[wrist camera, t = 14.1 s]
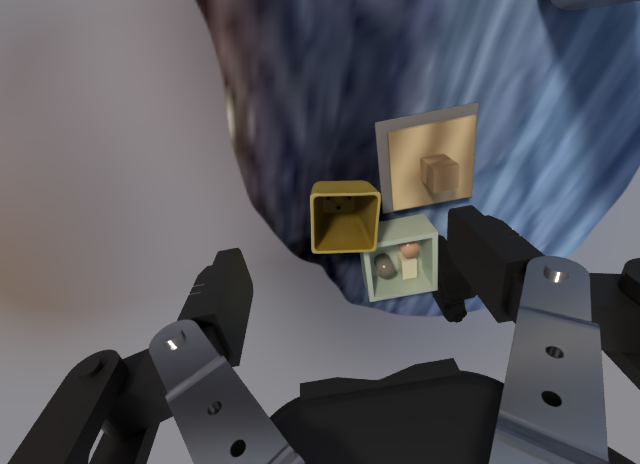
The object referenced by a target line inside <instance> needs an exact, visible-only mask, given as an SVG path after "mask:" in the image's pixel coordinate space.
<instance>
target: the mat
mask: <svg viewBox="0 0 640 464" xmlns="http://www.w3.org/2000/svg"><path fill="white" fill-rule="evenodd" d="M470 115H475V116H476V125H475V140H474V155H473V171H472V186H471V197H472V190H473V175H474V160H475V145H476V130H477V115H478V102H476V103H471V104H466V105H461V106H456V107H451V108H446V109H441V110H436V111H431V112H426V113H421V114H416V115H411V116H406V117H401V118H396V119H390V120H385V121H380V122H375V131H376V142H377V154H378V165H379V176H380V187H381V198H382V209H383V214H384V213H390V212H395V211H400V210H395V211H393V209H392V199H391V185H390V171H389V157H388V143H387V132H389V131H394V130H399V129H404V128H409V127H414V126H419V125H424V124H429V123H435V122H440V121H445V120H450V119H455V118H460V117H465V116H470ZM466 198H470V197H466ZM460 199H465V198H460ZM460 199H455V200H460ZM449 201H454V200H449ZM449 201H444V202H449ZM439 203H443V202H439ZM433 204H438V203H433ZM433 204H428V205H433ZM422 206H427V205H422ZM422 206H417V207H422ZM417 207H412V208H417ZM406 209H411V208H406ZM406 209H401V210H406Z"/></svg>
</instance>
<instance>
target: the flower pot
mask: <svg viewBox="0 0 640 464" xmlns="http://www.w3.org/2000/svg"><path fill="white" fill-rule="evenodd" d="M328 196H329V197H330V199H329V200H328V199H327V197H328ZM348 196H351V199H348V198H347V197H348ZM380 203H381V194H380V193H379V192H378V191H377V190H376V189H375V188H374V187H373V186H372V185H371V184H370V183H369V182H366V181H319V182H316V183H315V184H314V185H313V188H312V192H311V196H310V207H311V245H312V246H311V247H312V252H313V253H350V252H372V251H375V250H376V247H377V234H378V223H379V213H380ZM337 206H340V209H337Z"/></svg>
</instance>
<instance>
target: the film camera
mask: <svg viewBox="0 0 640 464" xmlns="http://www.w3.org/2000/svg"><path fill="white" fill-rule="evenodd" d="M432 294H433V297H434V299H435V300H436V302H437V304H438V306H439V308H440V309H441V311H442V313H443V315H444V317H445V318H446V319H447V320H448V321H449V322H460V321H462V319H463V318H464V317H465V316H466V315H467V311H466V310H465V303H464V299H469V298H473V297H475V296H476V295H477V294H476V293H475V291H474V290H473V288H472V287H471V286H470V284H469V283H468V282H467V280H466V279H465V278H464V276H463V275H462V274H461V272H460V271H459V270H458V268H457V267H456V265H455V264H454V263H453V261H452V260H451V258H450V256H449V253H448V248H447V240H446V239H445V238H444V237H443V236H441V235H438V290H436V291H432Z"/></svg>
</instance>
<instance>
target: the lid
mask: <svg viewBox="0 0 640 464" xmlns="http://www.w3.org/2000/svg"><path fill="white" fill-rule="evenodd" d="M475 125H476V116H475V115H470V116H465V117H460V118H455V119H450V120H445V121H440V122H435V123H429V124H424V125H419V126H414V127H409V128H404V129H399V130H394V131H389V132H387V143H388V157H389V171H390V185H391V199H392V209H393V211H395V210H401V209H406V208H412V207H417V206H422V205H428V204H433V203H439V202H444V201H449V200H455V199H460V198H466V197H471V186H472V171H473V155H474V140H475Z"/></svg>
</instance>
